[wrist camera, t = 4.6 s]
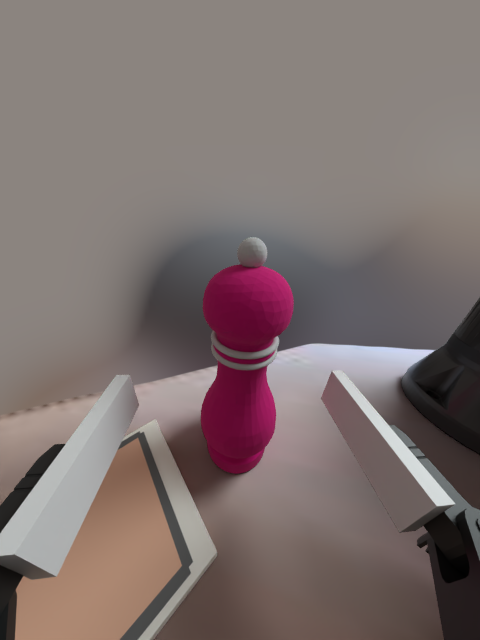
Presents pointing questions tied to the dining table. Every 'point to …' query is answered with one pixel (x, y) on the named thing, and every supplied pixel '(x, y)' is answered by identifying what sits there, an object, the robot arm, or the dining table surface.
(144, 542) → the picture board
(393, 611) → the dining table surface
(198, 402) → the dining table surface
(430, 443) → the dining table surface
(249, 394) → the pepper mill
